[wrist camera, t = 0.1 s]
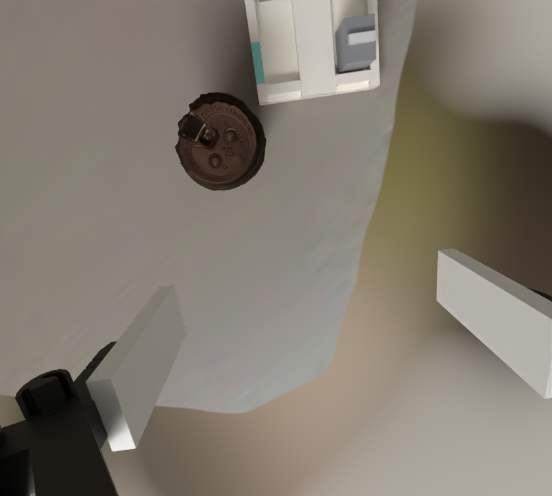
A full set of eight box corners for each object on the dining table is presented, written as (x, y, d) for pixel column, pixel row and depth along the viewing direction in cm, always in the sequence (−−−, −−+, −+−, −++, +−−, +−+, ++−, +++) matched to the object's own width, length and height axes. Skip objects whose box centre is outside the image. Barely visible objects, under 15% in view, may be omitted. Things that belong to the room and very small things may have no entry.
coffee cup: (189, 119, 39) (152, 106, 26) (253, 97, 38) (245, 73, 26) (215, 187, 41) (192, 204, 29) (274, 167, 41) (277, 176, 28)
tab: (335, 33, 35) (345, 15, 30) (361, 29, 35) (376, 10, 30) (337, 73, 36) (348, 62, 31) (363, 69, 36) (378, 57, 31)
